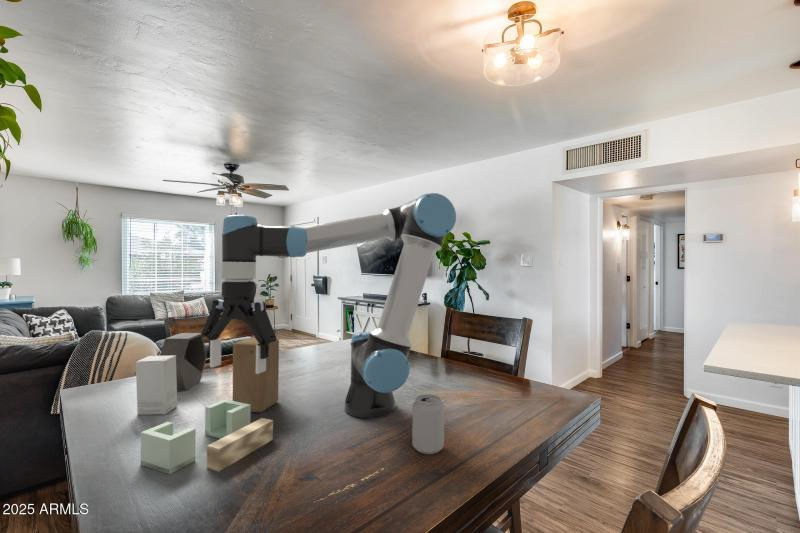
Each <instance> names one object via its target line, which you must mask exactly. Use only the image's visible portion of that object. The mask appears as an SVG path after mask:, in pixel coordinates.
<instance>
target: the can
mask: <svg viewBox="0 0 800 533" xmlns="http://www.w3.org/2000/svg"><path fill="white" fill-rule="evenodd" d="M442 400H443V399H442V397H440V396H439V395H436V394H431V393H430V394H427V393H423V394H420V395H417V396H416V397H415V400H414V402H413V404H412V430H411V431H412V436H411V438H412V442H411V443H412V447H413V448H414V449H415V450H416V451H417V452H418V453H421V454H424V455H434V454H437V453H439V452H440V451H441V450H442V449H444V445H445V404H444V402H442Z"/></svg>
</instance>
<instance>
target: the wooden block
mask: <svg viewBox="0 0 800 533" xmlns="http://www.w3.org/2000/svg"><path fill="white" fill-rule="evenodd" d="M258 344H259V343H258V341H257V340H256V338H255V336H253V337H249V338H246V339H243V340H240V341H237V342H234V343H233V345H232V401H236V402H241V403H245V404H250V405H251V412H250V413H263V412H265V411H266V410H267V409H269V408H271V407H272V406H273V405H275V404H276V403H278V401H279V380H280V379H279V377H280V376H279V373H280V372H279V370H280V368H279V367H280V364H279V363H280V362H279V360H280V359H279V358H280V352H279V351H280V341H279V339H278V338H276V341H274V342H271V343H269V351H268V352H269V356H268V358H266V371H264V372H262V373H259V374H256V345H258Z"/></svg>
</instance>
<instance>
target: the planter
mask: <svg viewBox="0 0 800 533" xmlns="http://www.w3.org/2000/svg"><path fill="white" fill-rule="evenodd" d="M159 353H160V354H159V356H173V355H176V378H177V392H178V391H179V392H181V391H182V392H183V391H184V392H186V391H188V390H189V389H191V388H193V387H195V386H196V385H197V384H199V383H200V382H201V381H202V377H203V373H204V368H205V365H206V362H207V357H208V354H207V348H206V345H205V339H204V336H202V332H181V333H177V334H175V335H172V336H168V337H166V338H165V339H164V342H163V344H162V348H161V351H160V352H159Z"/></svg>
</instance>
